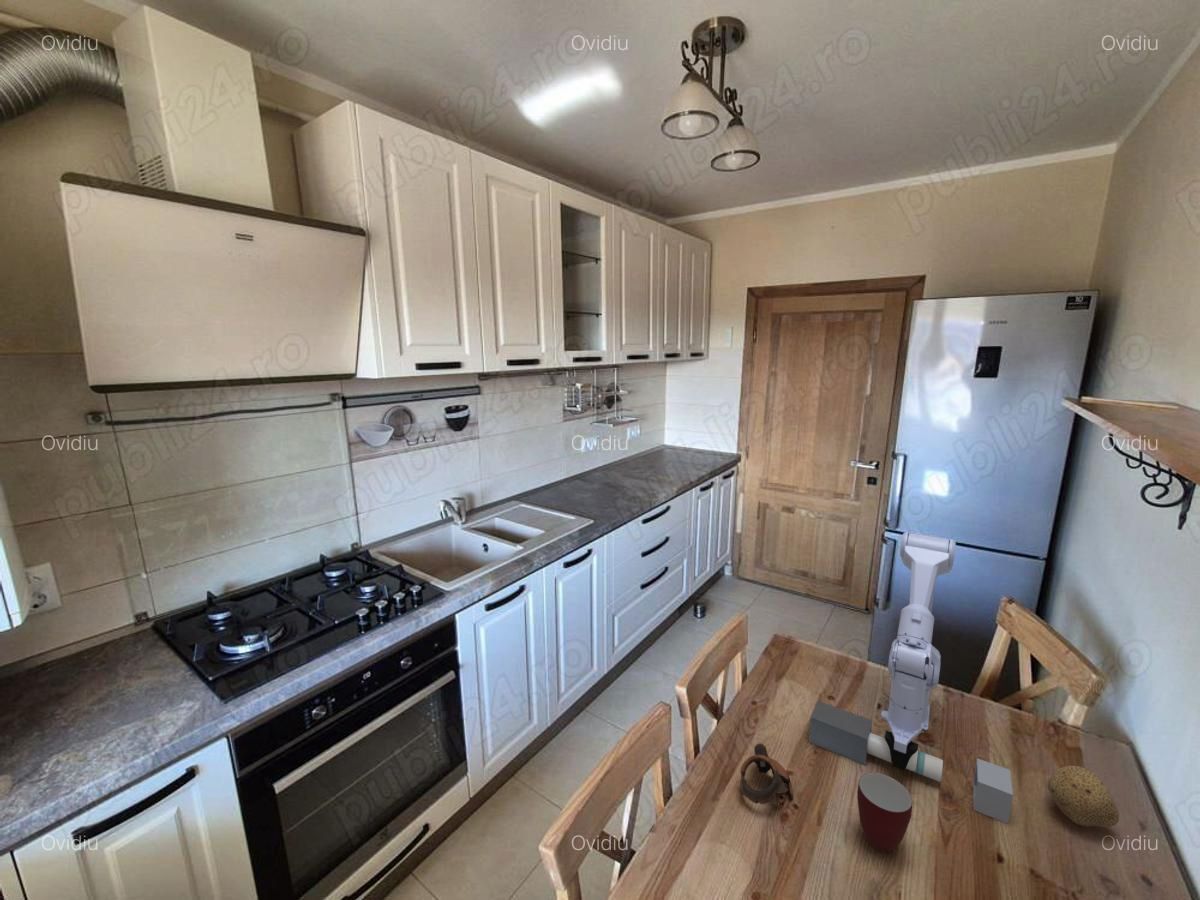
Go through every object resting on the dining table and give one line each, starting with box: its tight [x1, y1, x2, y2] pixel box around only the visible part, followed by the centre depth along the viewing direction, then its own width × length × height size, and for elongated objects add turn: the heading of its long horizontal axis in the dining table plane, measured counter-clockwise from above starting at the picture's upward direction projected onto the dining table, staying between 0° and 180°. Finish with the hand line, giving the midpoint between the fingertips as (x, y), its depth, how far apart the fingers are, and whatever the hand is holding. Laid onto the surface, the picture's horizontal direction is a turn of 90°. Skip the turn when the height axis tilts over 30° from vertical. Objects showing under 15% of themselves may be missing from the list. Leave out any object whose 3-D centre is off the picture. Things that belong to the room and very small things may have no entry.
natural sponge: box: [1047, 765, 1120, 828], centre depth 89 cm, size 9×9×10 cm
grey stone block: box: [808, 700, 873, 766], centre depth 108 cm, size 11×7×6 cm, turn 54°
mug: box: [856, 772, 913, 853], centre depth 87 cm, size 11×8×10 cm
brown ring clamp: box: [739, 743, 794, 806], centre depth 97 cm, size 12×10×8 cm
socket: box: [972, 758, 1014, 825], centre depth 93 cm, size 5×7×6 cm
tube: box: [867, 732, 944, 783], centre depth 104 cm, size 23×4×4 cm, turn 54°
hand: (899, 760), depth 102 cm, fingers closed on tube, 4 cm apart
